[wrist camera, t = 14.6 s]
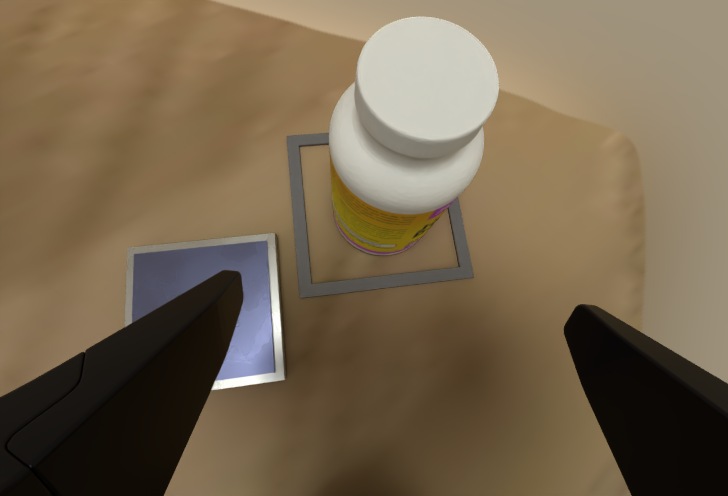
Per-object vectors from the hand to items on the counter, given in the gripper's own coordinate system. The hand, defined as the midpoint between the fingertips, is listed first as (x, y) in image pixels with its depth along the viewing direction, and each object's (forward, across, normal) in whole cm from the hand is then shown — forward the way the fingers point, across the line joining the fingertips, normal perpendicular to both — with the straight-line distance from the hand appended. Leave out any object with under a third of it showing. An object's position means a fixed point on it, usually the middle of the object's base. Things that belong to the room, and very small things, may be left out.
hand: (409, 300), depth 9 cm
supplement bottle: (+14, 0, +4) cm, 15 cm away
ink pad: (+8, +10, +10) cm, 16 cm away
